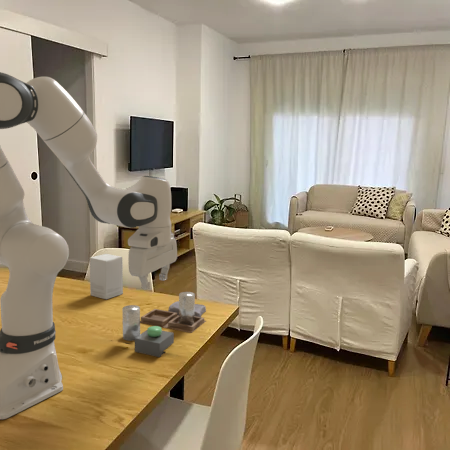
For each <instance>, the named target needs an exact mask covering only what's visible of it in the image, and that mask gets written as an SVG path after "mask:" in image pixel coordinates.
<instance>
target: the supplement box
mask: <svg viewBox="0 0 450 450" xmlns="http://www.w3.org/2000/svg"><path fill="white" fill-rule="evenodd" d="M123 265H124V264H123V256H119V255H115V254H109V253H103V254H99V255H96V256H91V257H89V283H90V284H89V285H90V286H89V287H90V288H89V289H90V292H89V293H90V296H92V297H96V298H100V299H103V300H108V299H111V298H114V297H118V296H120V295H123V294H124V289H123V288H124V285H123V282H124V281H123V280H124V278H123V277H124V275H123V274H124V273H123V268H124V267H123Z"/></svg>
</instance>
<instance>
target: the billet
mask: <svg viewBox="0 0 450 450" xmlns="http://www.w3.org/2000/svg"><path fill="white" fill-rule="evenodd" d="M121 313H122V339H123V340H125V341H128V342H131V341H132V342H133V341H134V342H135V338H136V337H137V336H139V335H140V334H141V323H140V321H141V307H140V306H139V305H136V304H131V305H130V304H129V305H125V306H123V307H122V311H121ZM128 342H126V344H128V345H130V343H128Z"/></svg>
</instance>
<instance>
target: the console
mask: <svg viewBox="0 0 450 450" xmlns="http://www.w3.org/2000/svg"><path fill="white" fill-rule="evenodd" d="M174 335H175V334H174V332H173V331H168V330H166V331H165V330H162V334H161V335H160V336H157V337H156V338H155V337H151V336H148V335H147V329H146V330H145V331H143V332H142V333H140V335H139V336H137V337H136V338H135V340H134V352H135V353H140V354H143V355H149V356H152V357H156V358H160V357H162V356H163V355H164V354H165V353H166V351H165V350H166V349H168V348H169V347H170V346H171V345H173V344H174V340H175V339H174V338H175V336H174Z"/></svg>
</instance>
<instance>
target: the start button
mask: <svg viewBox="0 0 450 450" xmlns="http://www.w3.org/2000/svg"><path fill="white" fill-rule="evenodd" d="M162 328H163V327H159V326H153V325H150V326H148V327H147V329H146V330H147V335H148V336H151V337H155V338H156V337H157V336H160V335H161V334H162V331H163V329H162Z"/></svg>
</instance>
